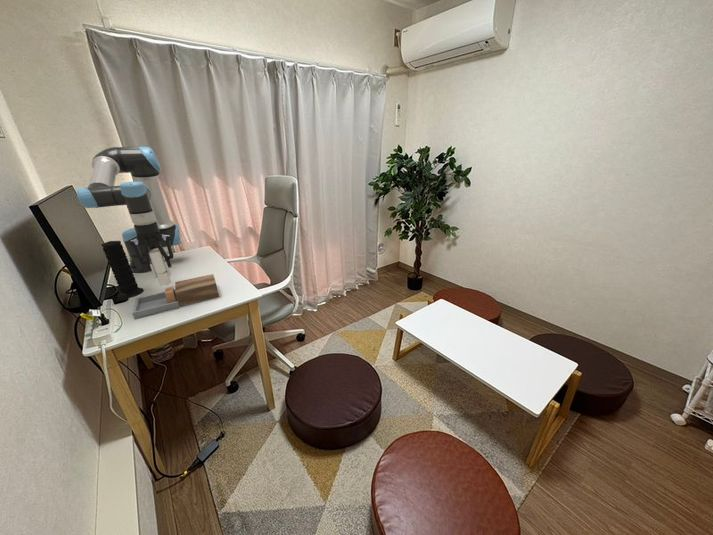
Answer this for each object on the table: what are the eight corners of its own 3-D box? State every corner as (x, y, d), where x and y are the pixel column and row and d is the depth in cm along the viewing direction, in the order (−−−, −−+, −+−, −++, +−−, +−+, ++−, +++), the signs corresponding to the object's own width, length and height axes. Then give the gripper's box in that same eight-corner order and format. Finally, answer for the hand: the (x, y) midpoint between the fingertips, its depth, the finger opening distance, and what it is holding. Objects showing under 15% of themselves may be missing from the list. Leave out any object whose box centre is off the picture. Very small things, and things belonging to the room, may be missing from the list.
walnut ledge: (179, 295, 130) (175, 282, 127) (216, 286, 137) (213, 274, 134) (179, 306, 120) (175, 293, 117) (219, 297, 128) (216, 283, 125)
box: (138, 303, 123) (135, 298, 122) (179, 294, 131) (177, 288, 129) (134, 319, 112) (131, 313, 111) (179, 307, 120) (177, 302, 118)
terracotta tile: (176, 297, 127) (169, 299, 125) (173, 286, 124) (165, 287, 123) (176, 303, 122) (168, 305, 121) (172, 291, 119) (164, 293, 118)
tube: (160, 286, 117) (148, 253, 111) (159, 282, 120) (148, 250, 114) (171, 283, 119) (161, 251, 113) (170, 279, 123) (160, 248, 116)
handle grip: (132, 298, 127) (149, 288, 136) (110, 245, 116) (130, 237, 125) (112, 298, 128) (130, 287, 137) (88, 244, 117) (110, 237, 126)
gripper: (115, 228, 102) (137, 284, 111) (170, 221, 110) (186, 274, 119) (118, 223, 107) (139, 277, 117) (170, 217, 115) (185, 268, 125)
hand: (162, 275), depth 118 cm, fingers closed on tube, 4 cm apart
